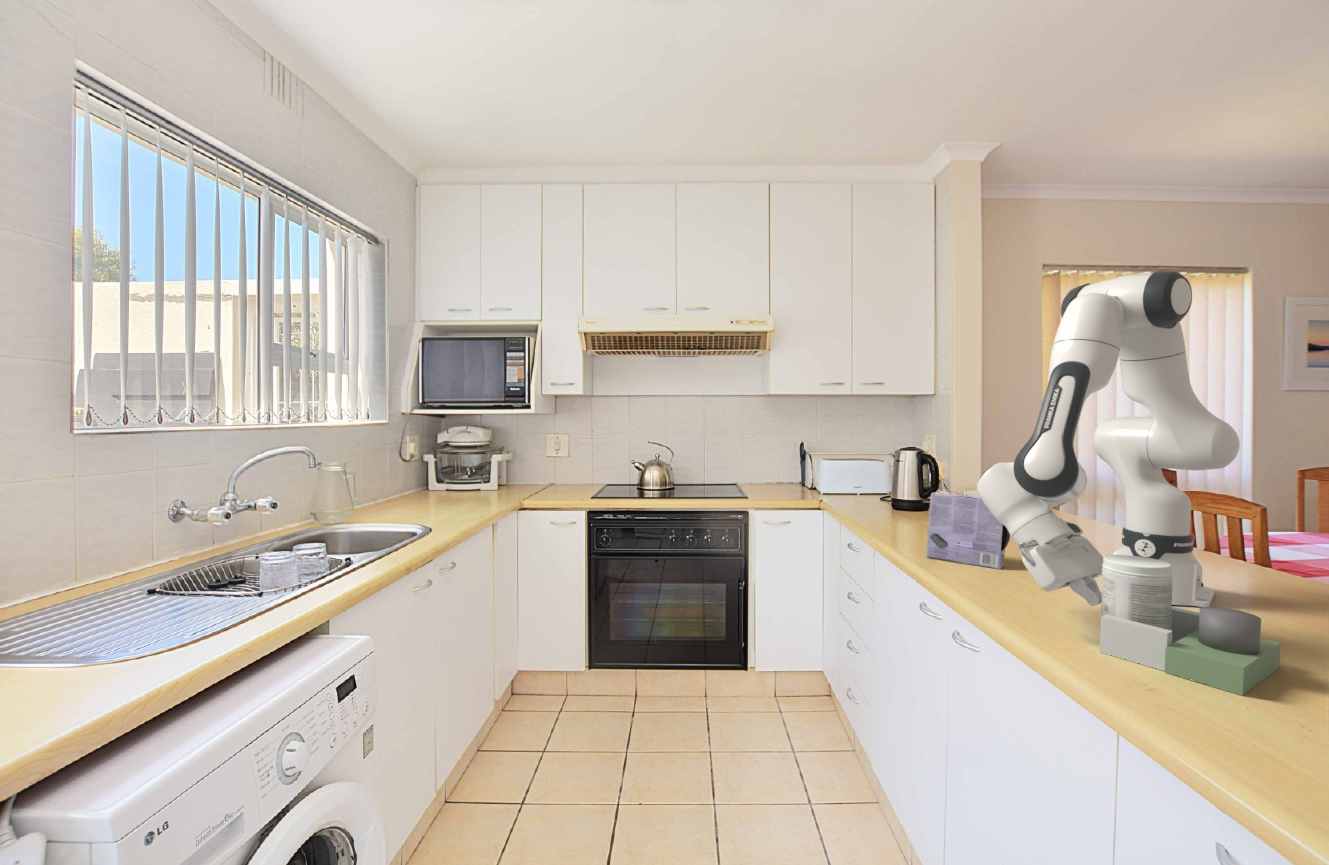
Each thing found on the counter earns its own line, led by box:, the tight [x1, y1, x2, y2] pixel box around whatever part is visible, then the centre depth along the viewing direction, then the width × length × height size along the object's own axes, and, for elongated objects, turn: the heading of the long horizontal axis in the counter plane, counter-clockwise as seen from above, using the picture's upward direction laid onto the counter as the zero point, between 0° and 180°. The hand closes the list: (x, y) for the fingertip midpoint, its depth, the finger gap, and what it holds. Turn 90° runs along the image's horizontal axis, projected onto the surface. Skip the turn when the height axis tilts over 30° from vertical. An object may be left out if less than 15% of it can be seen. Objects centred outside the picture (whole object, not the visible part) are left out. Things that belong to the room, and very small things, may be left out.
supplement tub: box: [1100, 554, 1173, 630], centre depth 105 cm, size 10×10×15 cm
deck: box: [1098, 606, 1282, 697], centre depth 100 cm, size 18×18×9 cm
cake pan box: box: [925, 491, 1011, 570], centre depth 162 cm, size 19×5×18 cm, turn 51°
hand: (1099, 603), depth 110 cm, fingers closed, pressing on supplement tub
